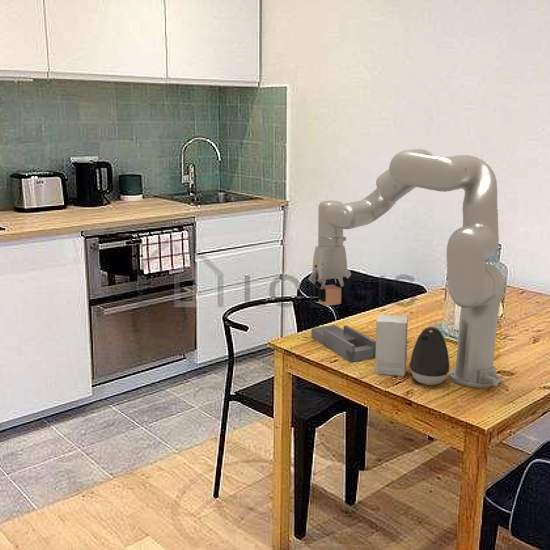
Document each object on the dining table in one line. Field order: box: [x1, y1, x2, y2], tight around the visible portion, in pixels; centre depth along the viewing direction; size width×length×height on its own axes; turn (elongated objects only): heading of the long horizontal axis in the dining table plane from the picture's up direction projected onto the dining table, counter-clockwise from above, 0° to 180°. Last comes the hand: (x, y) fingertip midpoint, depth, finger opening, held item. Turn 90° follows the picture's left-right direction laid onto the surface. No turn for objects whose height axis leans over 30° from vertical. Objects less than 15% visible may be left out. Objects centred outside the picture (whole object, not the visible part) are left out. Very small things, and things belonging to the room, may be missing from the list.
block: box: [318, 284, 342, 307], centre depth 199 cm, size 5×5×5 cm
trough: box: [310, 324, 376, 363], centre depth 195 cm, size 23×8×5 cm, turn 27°
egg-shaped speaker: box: [409, 326, 450, 386], centre depth 170 cm, size 10×10×15 cm
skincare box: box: [374, 313, 409, 377], centre depth 176 cm, size 8×7×16 cm
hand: (329, 298), depth 199 cm, fingers closed on block, 4 cm apart
